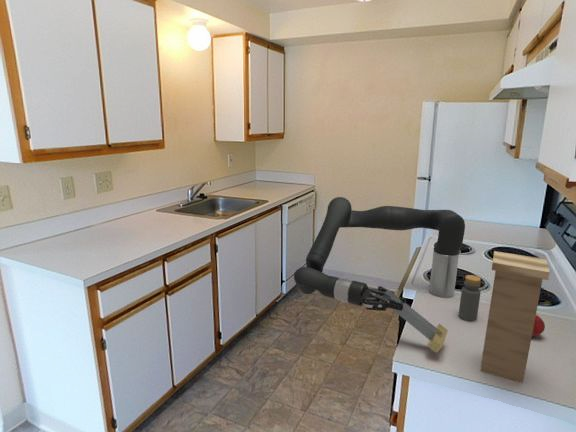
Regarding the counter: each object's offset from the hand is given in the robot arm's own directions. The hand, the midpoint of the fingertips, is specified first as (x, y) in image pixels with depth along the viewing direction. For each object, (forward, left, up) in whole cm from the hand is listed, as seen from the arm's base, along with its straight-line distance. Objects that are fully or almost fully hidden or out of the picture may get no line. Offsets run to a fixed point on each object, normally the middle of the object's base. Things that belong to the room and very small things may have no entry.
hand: (403, 304), depth 114 cm
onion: (-24, +36, -12) cm, 45 cm away
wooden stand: (0, +28, -12) cm, 30 cm away
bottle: (-26, +17, -12) cm, 34 cm away
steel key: (0, +2, -4) cm, 5 cm away
